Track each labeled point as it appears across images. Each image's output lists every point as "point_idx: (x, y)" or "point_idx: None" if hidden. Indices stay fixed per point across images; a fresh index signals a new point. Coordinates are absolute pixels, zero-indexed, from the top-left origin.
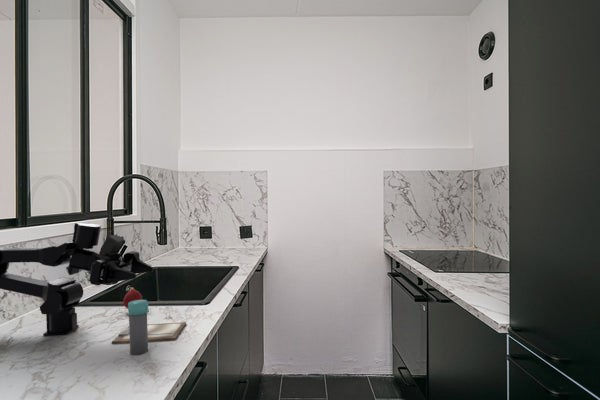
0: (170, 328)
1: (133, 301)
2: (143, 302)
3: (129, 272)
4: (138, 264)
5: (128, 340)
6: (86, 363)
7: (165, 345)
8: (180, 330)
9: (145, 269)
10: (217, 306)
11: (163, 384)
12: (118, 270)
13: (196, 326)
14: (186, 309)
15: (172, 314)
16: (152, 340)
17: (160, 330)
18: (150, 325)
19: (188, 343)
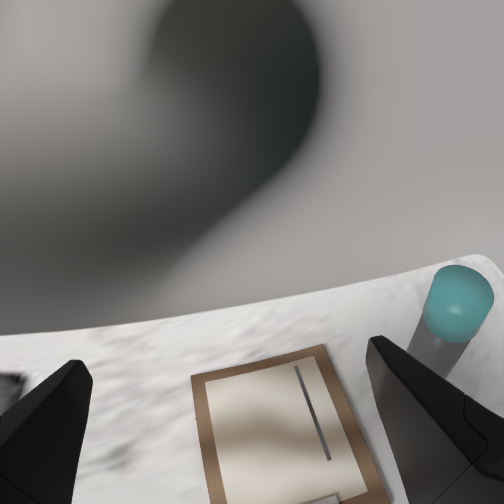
0: (252, 394)
1: (467, 308)
2: (456, 269)
3: (416, 360)
4: (16, 473)
5: (372, 461)
6: None
7: (360, 351)
8: (263, 360)
9: (69, 425)
10: (53, 347)
11: (473, 264)
12: (493, 422)
13: (212, 344)
14: None
15: (88, 455)
16: (346, 398)
17: (274, 415)
18: (225, 476)
19: (334, 309)
